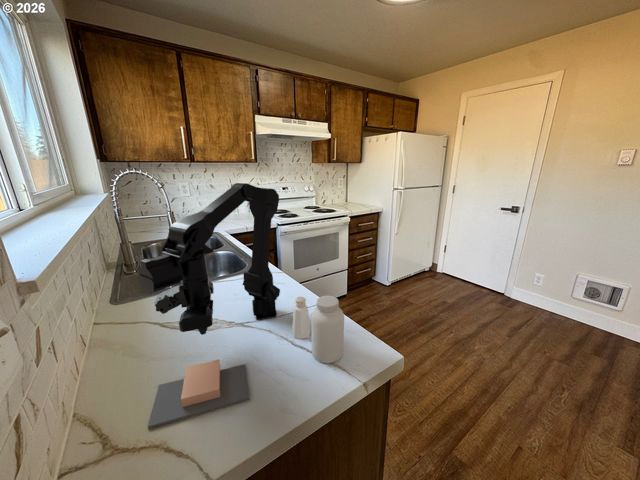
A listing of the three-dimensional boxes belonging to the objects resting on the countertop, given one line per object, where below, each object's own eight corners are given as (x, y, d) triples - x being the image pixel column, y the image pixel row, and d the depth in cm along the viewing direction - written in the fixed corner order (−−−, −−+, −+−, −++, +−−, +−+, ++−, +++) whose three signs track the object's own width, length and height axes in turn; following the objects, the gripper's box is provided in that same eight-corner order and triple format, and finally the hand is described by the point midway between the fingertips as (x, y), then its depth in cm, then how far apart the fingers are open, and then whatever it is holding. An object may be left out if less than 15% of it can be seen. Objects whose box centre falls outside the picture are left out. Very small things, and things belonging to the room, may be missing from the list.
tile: (219, 359, 62) (219, 389, 54) (220, 366, 62) (220, 397, 54) (186, 366, 60) (180, 399, 51) (187, 374, 60) (182, 407, 52)
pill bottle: (320, 369, 62) (320, 312, 58) (306, 348, 69) (305, 296, 65) (349, 357, 66) (351, 304, 62) (333, 339, 73) (333, 289, 68)
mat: (245, 366, 63) (245, 363, 63) (249, 400, 54) (249, 397, 54) (159, 387, 58) (159, 384, 57) (148, 429, 49) (147, 426, 48)
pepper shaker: (287, 333, 75) (286, 298, 72) (301, 325, 79) (300, 291, 76) (301, 342, 72) (300, 306, 68) (315, 333, 75) (314, 298, 72)
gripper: (162, 265, 67) (172, 319, 72) (143, 301, 50) (158, 368, 55) (209, 260, 71) (216, 311, 75) (207, 291, 54) (216, 355, 58)
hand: (203, 333), depth 66 cm, fingers closed
